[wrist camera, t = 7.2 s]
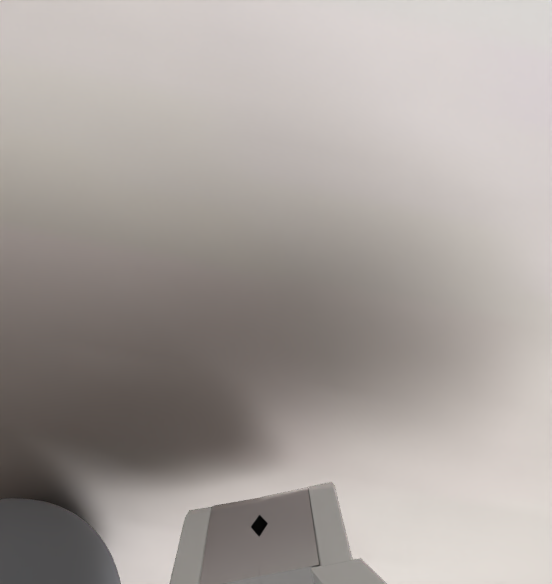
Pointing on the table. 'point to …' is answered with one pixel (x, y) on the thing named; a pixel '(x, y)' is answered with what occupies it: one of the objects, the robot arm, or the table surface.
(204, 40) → the table surface
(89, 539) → the charcoal ball
